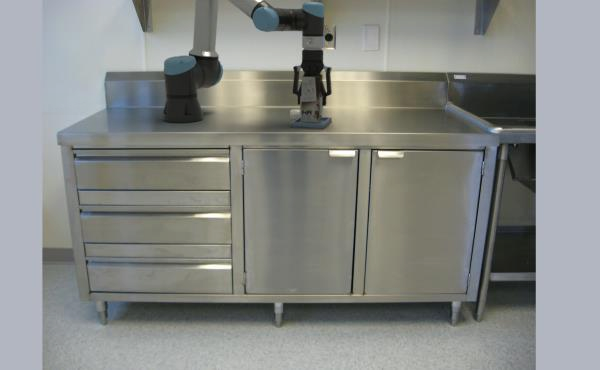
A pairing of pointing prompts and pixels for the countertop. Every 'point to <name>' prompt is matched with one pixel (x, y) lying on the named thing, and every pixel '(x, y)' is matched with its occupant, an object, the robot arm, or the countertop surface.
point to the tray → (312, 123)
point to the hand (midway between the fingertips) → (311, 114)
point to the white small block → (294, 114)
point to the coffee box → (310, 99)
